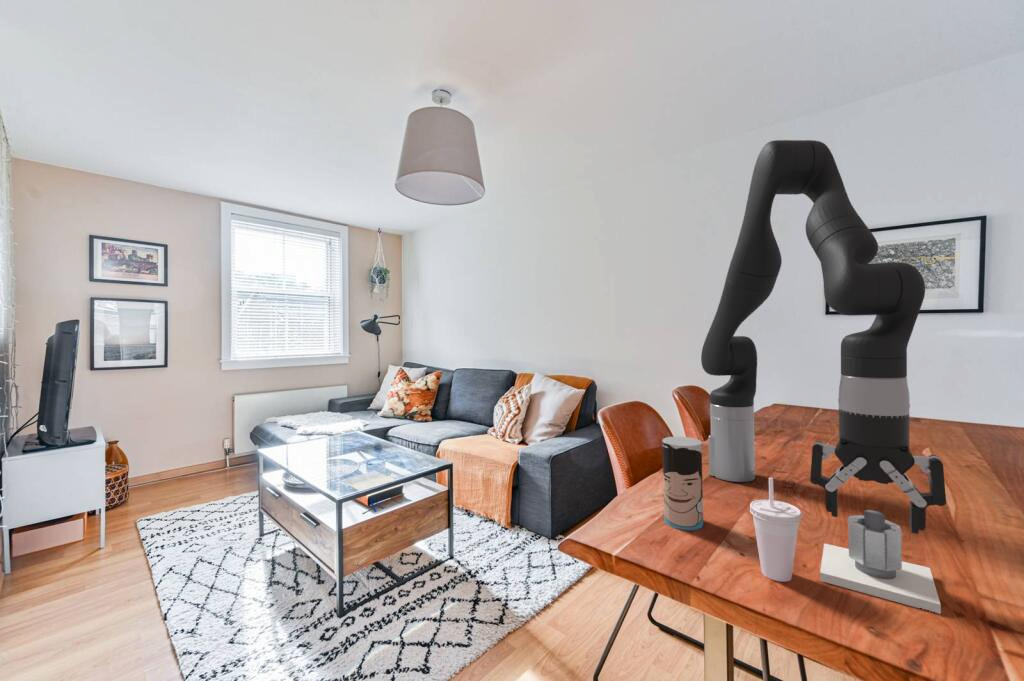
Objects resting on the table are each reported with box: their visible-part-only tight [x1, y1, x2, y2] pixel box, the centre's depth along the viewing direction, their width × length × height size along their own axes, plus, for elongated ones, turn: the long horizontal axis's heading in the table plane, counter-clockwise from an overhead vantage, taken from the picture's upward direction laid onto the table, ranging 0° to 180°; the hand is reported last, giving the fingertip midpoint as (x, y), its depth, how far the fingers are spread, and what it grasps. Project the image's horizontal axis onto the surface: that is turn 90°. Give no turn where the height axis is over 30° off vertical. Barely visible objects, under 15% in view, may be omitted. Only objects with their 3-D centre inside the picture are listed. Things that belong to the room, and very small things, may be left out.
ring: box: [847, 514, 903, 571], centre depth 60 cm, size 6×6×5 cm
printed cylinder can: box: [661, 436, 704, 531], centre depth 79 cm, size 7×7×15 cm
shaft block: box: [819, 509, 942, 615], centre depth 60 cm, size 12×10×9 cm
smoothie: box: [749, 477, 803, 583], centre depth 62 cm, size 6×6×14 cm
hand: (872, 523), depth 60 cm, fingers open, 8 cm apart
